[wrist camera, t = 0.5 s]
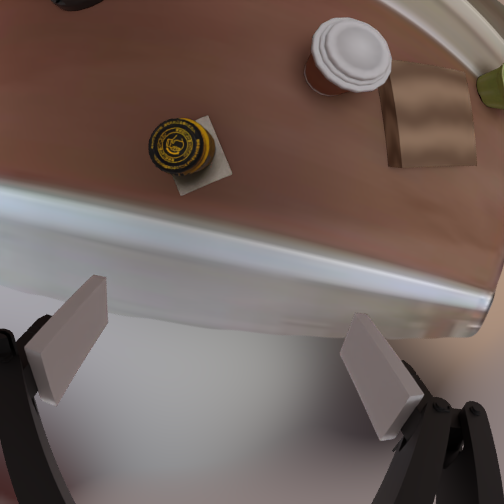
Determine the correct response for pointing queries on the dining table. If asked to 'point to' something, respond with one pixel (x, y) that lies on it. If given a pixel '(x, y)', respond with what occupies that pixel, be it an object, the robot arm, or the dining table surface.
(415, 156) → the base slab
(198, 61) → the dining table surface
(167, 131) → the condiment
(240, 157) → the dining table surface
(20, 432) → the robot arm
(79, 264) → the dining table surface
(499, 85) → the plant pot
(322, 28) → the coffee cup
